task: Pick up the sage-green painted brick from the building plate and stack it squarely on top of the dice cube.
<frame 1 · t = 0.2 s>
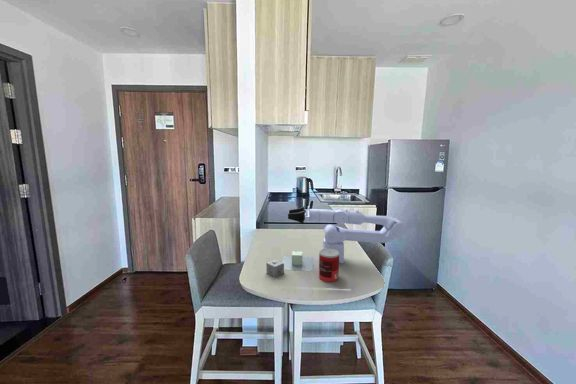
hand: (288, 214, 122), 21 cm above the table, tool horizontal, fingers open, 7 cm apart
sage brick: (297, 263, 119), point 1 cm above the table, touching building plate
dice cube: (275, 274, 110), on the table
building plate: (297, 264, 119), on the table
canned food: (328, 279, 107), on the table
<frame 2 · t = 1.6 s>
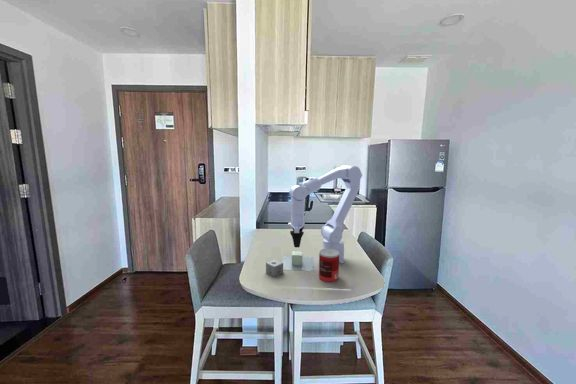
hand: (297, 243, 118), 9 cm above the table, tool pointing down, fingers open, 7 cm apart
nothing on the table moved.
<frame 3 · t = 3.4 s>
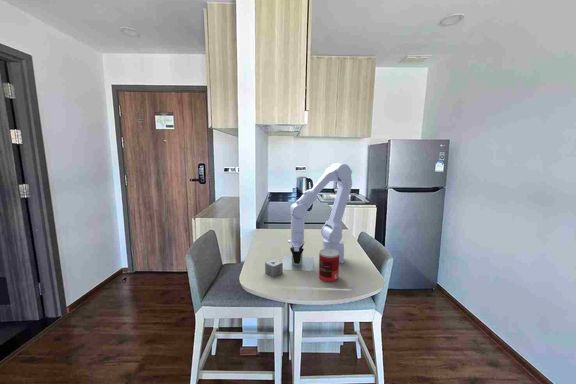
hand: (297, 260, 119), 2 cm above the table, tool pointing down, fingers closed on sage brick, 4 cm apart
sage brick: (297, 263, 119), point 1 cm above the table, touching building plate, gripper
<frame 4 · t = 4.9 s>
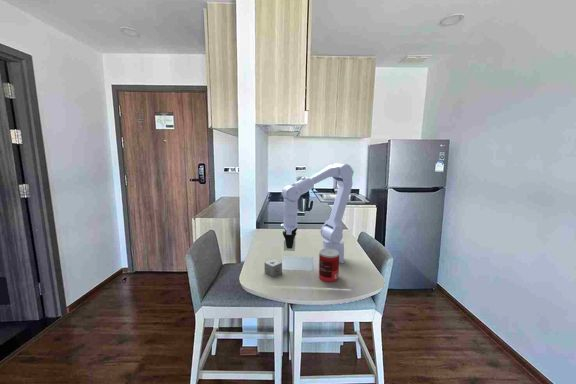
hand: (290, 245, 115), 10 cm above the table, tool pointing down, fingers closed on sage brick, 4 cm apart
sage brick: (289, 248, 115), point 8 cm above the table, touching gripper
everything else where it was.
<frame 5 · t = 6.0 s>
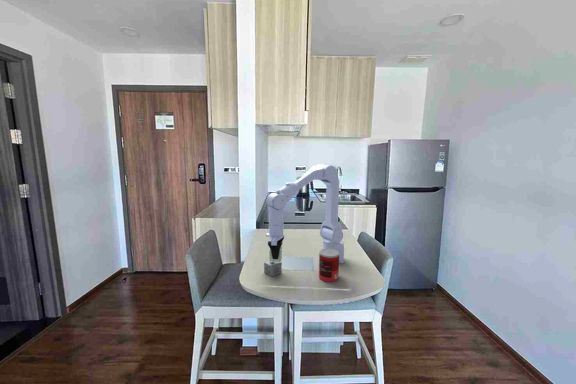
hand: (276, 256, 109), 8 cm above the table, tool pointing down, fingers closed on sage brick, 4 cm apart
sage brick: (275, 259, 109), point 6 cm above the table, touching gripper
when the fingers open (8 cm above the table, at t = 6.8 s): sage brick drops 1 cm, resting on dice cube.
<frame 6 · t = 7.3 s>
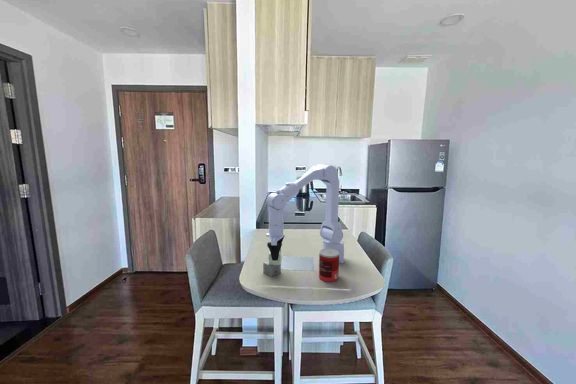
hand: (276, 256, 109), 8 cm above the table, tool pointing down, fingers open, 7 cm apart
sage brick: (275, 262, 110), point 5 cm above the table, touching dice cube
dice cube: (272, 274, 110), on the table, touching sage brick
everything else where it was.
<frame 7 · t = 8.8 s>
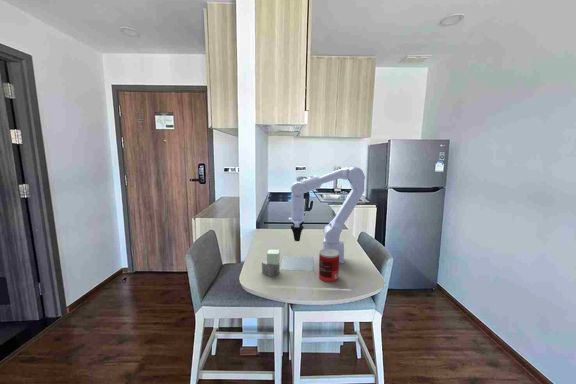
hand: (297, 238, 123), 10 cm above the table, tool pointing down, fingers open, 7 cm apart
sage brick: (273, 262, 110), point 5 cm above the table
dice cube: (270, 274, 110), on the table
everything else where it was.
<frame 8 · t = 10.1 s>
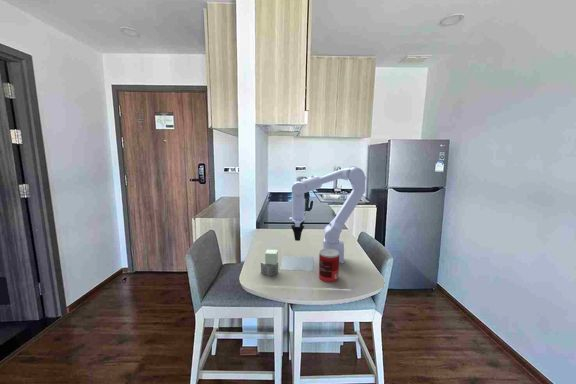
hand: (297, 237, 124), 10 cm above the table, tool pointing down, fingers open, 7 cm apart
sage brick: (271, 262, 110), point 5 cm above the table, touching dice cube
dice cube: (269, 274, 110), on the table, touching sage brick
everything else where it was.
at the end: sage brick 0.9 cm from the dice cube (horizontally); sage brick point 4.9 cm above the table; the gripper is holding nothing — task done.
